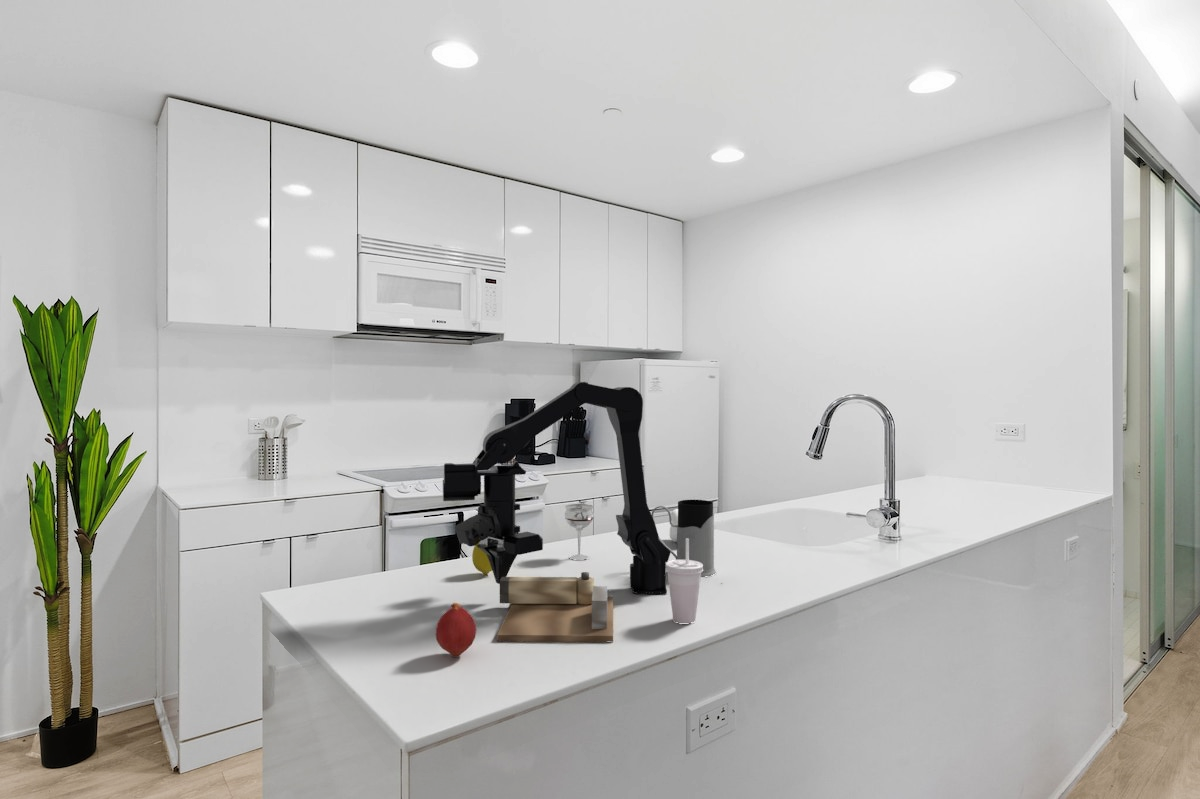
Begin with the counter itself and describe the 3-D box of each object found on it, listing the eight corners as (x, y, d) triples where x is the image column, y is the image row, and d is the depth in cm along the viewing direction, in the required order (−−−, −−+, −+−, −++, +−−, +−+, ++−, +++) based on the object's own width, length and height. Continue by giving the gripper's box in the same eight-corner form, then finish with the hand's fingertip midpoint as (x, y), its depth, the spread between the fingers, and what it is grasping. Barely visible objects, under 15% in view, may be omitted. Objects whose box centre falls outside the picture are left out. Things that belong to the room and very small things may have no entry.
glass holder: (710, 579, 141) (711, 506, 140) (645, 572, 146) (645, 502, 146) (719, 569, 149) (720, 500, 148) (657, 563, 154) (657, 496, 154)
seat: (613, 602, 126) (613, 567, 125) (613, 642, 106) (613, 601, 105) (515, 601, 126) (515, 566, 126) (497, 641, 106) (497, 600, 106)
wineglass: (576, 552, 163) (576, 503, 163) (599, 557, 159) (599, 505, 159) (558, 558, 158) (558, 506, 158) (581, 563, 154) (581, 509, 154)
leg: (594, 598, 123) (594, 576, 123) (593, 604, 120) (593, 581, 120) (502, 598, 124) (502, 576, 124) (499, 603, 120) (499, 581, 120)
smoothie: (693, 630, 111) (693, 544, 111) (658, 623, 114) (658, 539, 114) (709, 618, 116) (709, 537, 116) (675, 612, 120) (675, 532, 120)
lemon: (493, 579, 141) (493, 540, 141) (468, 577, 142) (468, 539, 142) (502, 572, 146) (502, 535, 146) (478, 570, 147) (478, 533, 147)
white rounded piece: (702, 551, 165) (702, 514, 165) (657, 545, 171) (657, 510, 171) (718, 542, 175) (718, 507, 175) (676, 537, 181) (676, 503, 181)
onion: (439, 649, 103) (439, 596, 103) (477, 648, 103) (477, 595, 103) (433, 664, 97) (432, 608, 97) (474, 663, 97) (473, 607, 97)
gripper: (434, 498, 127) (435, 581, 127) (492, 510, 113) (492, 604, 114) (484, 491, 135) (485, 570, 135) (544, 503, 121) (544, 590, 121)
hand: (499, 583), depth 126 cm, fingers closed
